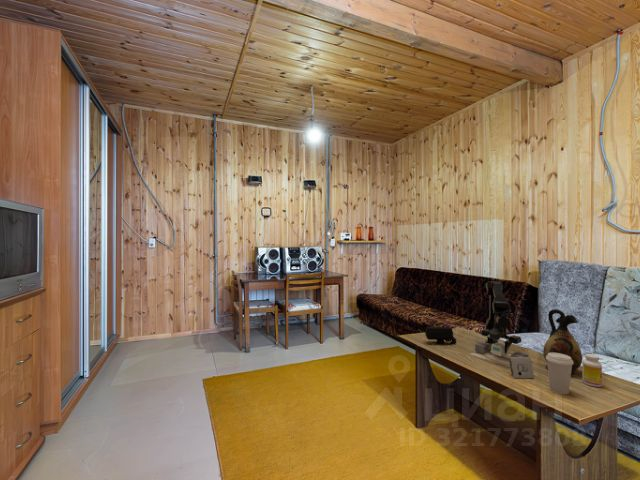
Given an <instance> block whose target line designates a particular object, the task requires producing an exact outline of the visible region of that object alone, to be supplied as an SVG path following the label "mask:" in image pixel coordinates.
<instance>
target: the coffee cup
mask: <svg viewBox="0 0 640 480" xmlns="http://www.w3.org/2000/svg"><path fill="white" fill-rule="evenodd" d="M546 359H547V361H546V362H547V363H546V364H547V365H546V366H547V374H548V381H549V390H550V391H552V392H553V391H554V393H556V394H559V393H560V394H559V395H568V394H569V393H570V387H571V377H572V375H571V370H572V365H573V364H574V363H573V361H572V359H571V357H570V356H567V355H564V354H560V353H548V355H547V356H546Z"/></svg>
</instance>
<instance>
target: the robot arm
mask: <svg viewBox="0 0 640 480" xmlns="http://www.w3.org/2000/svg"><path fill="white" fill-rule="evenodd" d="M503 287H504V286H503V282H501V281H499V280H497V281H495V280H492V281H489V280H488V282H486V283H485V288H486V291H487V293H488V294H489V313H488V314H489V317H488V318H487V319H486V322H485V325H484V329H482V330H481V332H480V336H483V337H486V339H487V340H486V341H484V342H485V343H489V344H491V345H492V344H495V343H498V342H499V340H500V339H504V340H506V341H504V343H505V353H507V351H508V349H509V350H510V347H511V346H512V345H513V344H515V345H517V344H520V343H522V337H521V336H518V335H514V334H513V335H510V336H509V333H508V331H507V329H508V328H509V327H510V326H511V320H510V319H509V318H508V316H510V315H511V313H512V310H511V305H510V303H509V302H508V299H507V298H505V297H504V294H503Z"/></svg>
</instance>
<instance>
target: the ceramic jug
mask: <svg viewBox="0 0 640 480" xmlns="http://www.w3.org/2000/svg"><path fill="white" fill-rule="evenodd" d="M555 314H558V315H560V316H559V317H558V318H557V319H555V320H554V318H553V315H555ZM565 314H566V313H565V312H564V311H562V310H560V309H557V308H553V309H551V310H550V311H548V315H547V317H548V322H549V325H550V328H551V331H550V334H549V337H548V338H547V340H546V341H545V344H544V346H543V350H542V352H543V353H542V354H543V357H544V358H543V359H545V361H546V362H547V359H546V356H547V355H548V353H560V354H564V355H567V356H570V357H571V359H572V361H573V363H574V364H573V365H572V370H571V374H572V375H575V371H576V370H578V369H579V368H580V367H581V366H582V362H583V355H582V351H581V347H580V346H579V344H578V342H577V341H576V339H575V338H574V336H573V335H572V333H571V332H570V331H569V329H568V326H569V325H572V324H579V320H578V319H577V318H576V317H575V316H574V315H573V314H566V315H565ZM555 322H556V323H557V324H558V327H556V324H555Z"/></svg>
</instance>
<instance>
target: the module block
mask: <svg viewBox="0 0 640 480" xmlns="http://www.w3.org/2000/svg"><path fill="white" fill-rule="evenodd" d="M491 349H492V354H495V355H498V356H504V355H507V354H510V348H509V349H508V351H507V353H505V342H502V341H498V343H495V344H491Z"/></svg>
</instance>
